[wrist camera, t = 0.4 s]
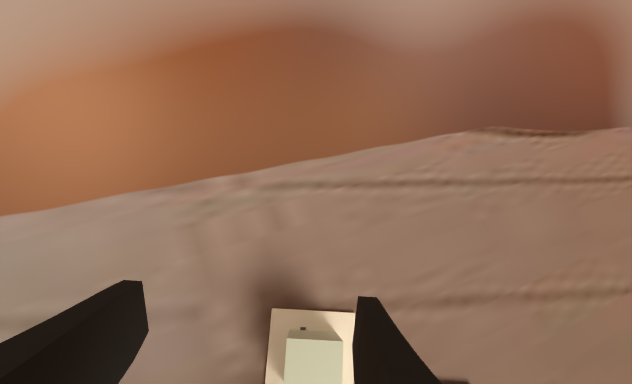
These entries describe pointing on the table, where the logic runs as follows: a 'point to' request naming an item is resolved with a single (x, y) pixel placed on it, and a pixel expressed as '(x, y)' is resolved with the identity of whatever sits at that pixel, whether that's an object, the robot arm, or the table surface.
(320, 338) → the sage block
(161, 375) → the table surface
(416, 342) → the table surface
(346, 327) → the tile
